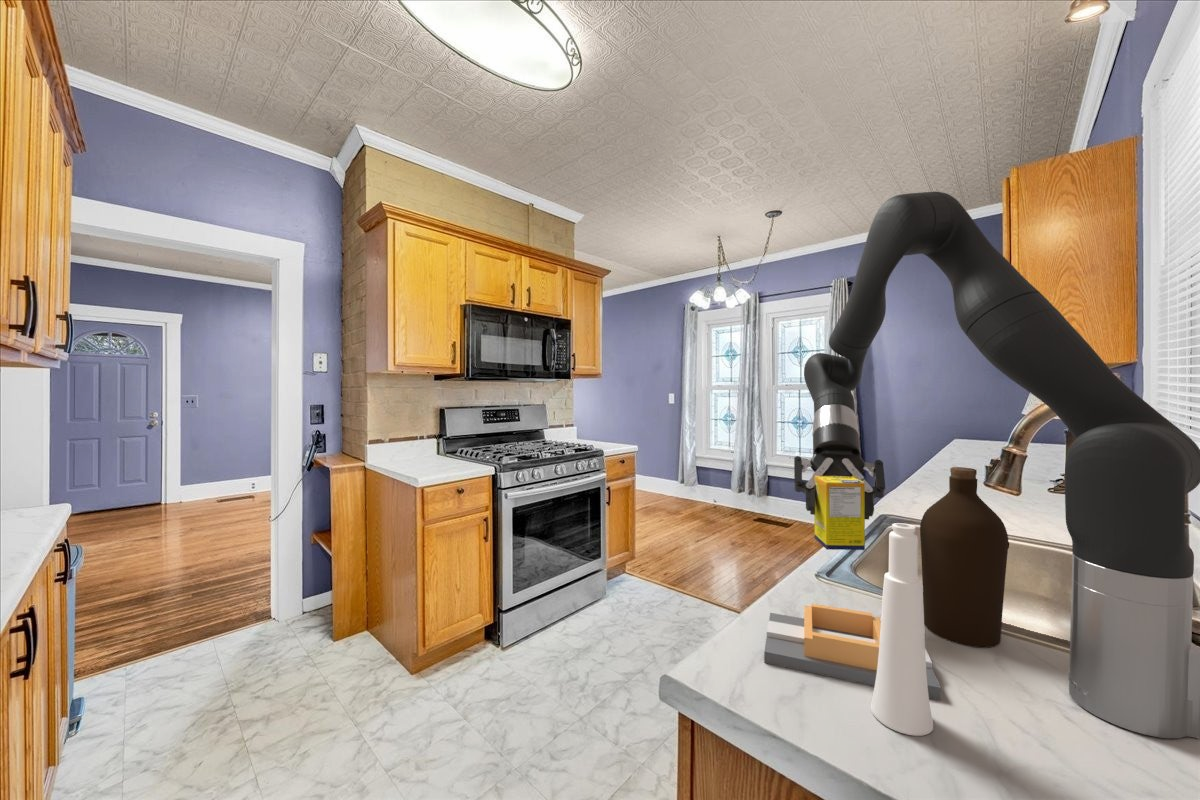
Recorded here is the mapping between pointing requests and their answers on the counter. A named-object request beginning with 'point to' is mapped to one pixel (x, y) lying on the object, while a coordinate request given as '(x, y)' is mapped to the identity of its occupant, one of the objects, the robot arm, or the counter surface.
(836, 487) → the supplement box
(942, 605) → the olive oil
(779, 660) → the rail mount
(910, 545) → the cosmetic bottle
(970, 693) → the counter surface
